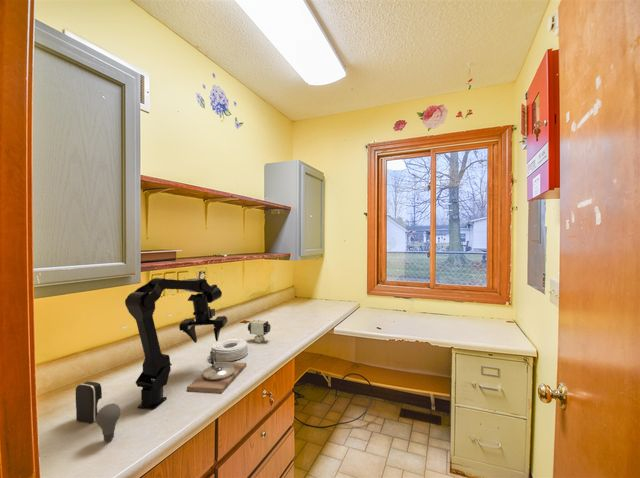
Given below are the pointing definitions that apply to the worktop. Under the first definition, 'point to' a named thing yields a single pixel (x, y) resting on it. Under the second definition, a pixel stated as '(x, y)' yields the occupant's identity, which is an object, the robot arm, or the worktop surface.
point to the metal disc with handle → (217, 369)
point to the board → (218, 385)
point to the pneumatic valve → (259, 329)
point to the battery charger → (87, 401)
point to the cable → (230, 350)
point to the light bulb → (108, 420)
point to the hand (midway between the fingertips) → (206, 341)
